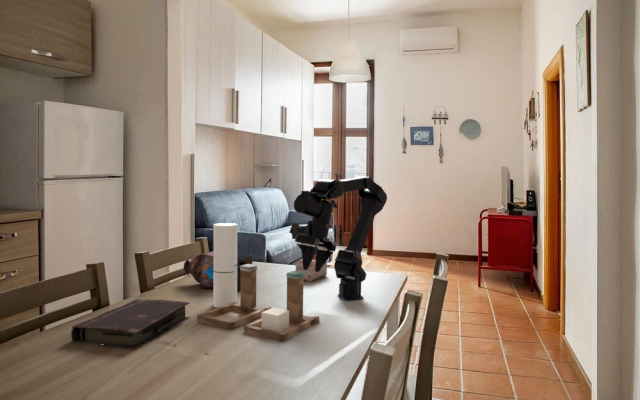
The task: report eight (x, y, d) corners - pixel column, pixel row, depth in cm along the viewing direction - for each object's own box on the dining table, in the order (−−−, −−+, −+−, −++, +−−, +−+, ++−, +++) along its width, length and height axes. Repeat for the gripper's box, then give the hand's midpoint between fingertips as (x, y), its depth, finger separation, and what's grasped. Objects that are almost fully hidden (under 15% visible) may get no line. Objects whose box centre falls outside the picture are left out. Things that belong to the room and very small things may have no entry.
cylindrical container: (241, 303, 150) (241, 223, 148) (229, 309, 143) (229, 226, 142) (221, 300, 152) (221, 222, 151) (208, 306, 146) (208, 225, 144)
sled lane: (282, 317, 136) (283, 267, 135) (319, 325, 129) (320, 273, 129) (243, 335, 121) (243, 279, 120) (282, 345, 115) (283, 286, 114)
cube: (273, 326, 126) (273, 307, 125) (288, 329, 123) (289, 310, 123) (261, 331, 121) (261, 312, 121) (277, 335, 119) (277, 315, 118)
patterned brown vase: (248, 305, 170) (184, 296, 176) (260, 265, 179) (199, 257, 185) (236, 284, 157) (167, 274, 163) (250, 242, 166) (184, 234, 172)
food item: (311, 283, 178) (312, 257, 177) (293, 280, 181) (293, 255, 181) (328, 276, 190) (329, 251, 189) (311, 274, 193) (311, 249, 193)
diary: (70, 344, 115) (69, 324, 115) (135, 314, 140) (134, 297, 139) (138, 352, 111) (137, 330, 110) (192, 319, 135) (192, 302, 135)
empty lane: (238, 308, 144) (239, 261, 143) (271, 315, 138) (271, 266, 137) (197, 324, 129) (197, 271, 128) (231, 332, 123) (231, 277, 122)
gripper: (309, 221, 157) (299, 268, 155) (284, 210, 140) (273, 263, 138) (340, 226, 153) (331, 274, 151) (319, 216, 136) (308, 270, 134)
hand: (311, 270), depth 143 cm, fingers open, 9 cm apart
